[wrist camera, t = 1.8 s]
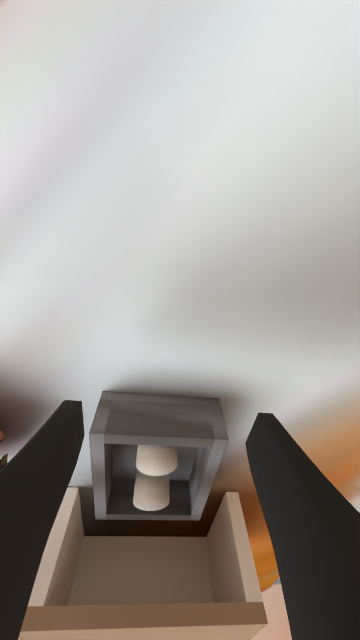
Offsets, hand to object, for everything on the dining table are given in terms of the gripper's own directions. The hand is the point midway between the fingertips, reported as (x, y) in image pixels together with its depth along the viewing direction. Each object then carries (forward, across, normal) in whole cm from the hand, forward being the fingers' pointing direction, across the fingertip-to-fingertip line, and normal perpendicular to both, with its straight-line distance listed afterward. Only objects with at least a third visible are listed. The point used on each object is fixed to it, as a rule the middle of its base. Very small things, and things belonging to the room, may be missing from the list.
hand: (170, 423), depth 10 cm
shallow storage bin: (+5, 0, +22) cm, 22 cm away
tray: (+6, 0, +9) cm, 11 cm away
